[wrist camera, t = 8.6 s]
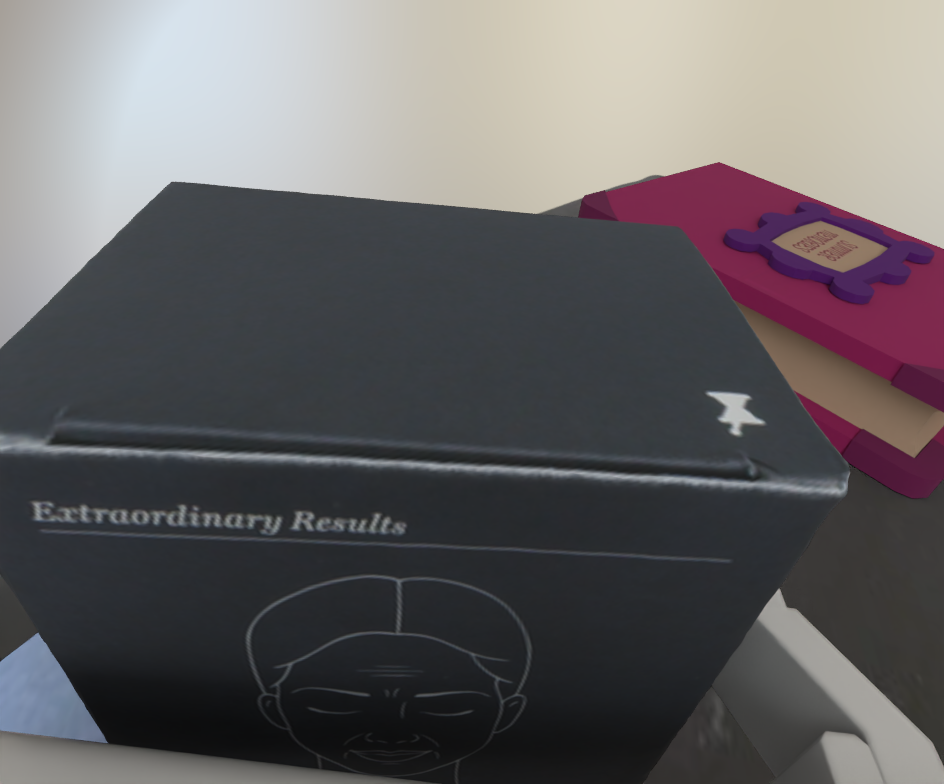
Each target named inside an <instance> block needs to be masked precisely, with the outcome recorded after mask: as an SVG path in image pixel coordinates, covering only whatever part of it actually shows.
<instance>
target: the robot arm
mask: <svg viewBox="0 0 944 784" xmlns="http://www.w3.org/2000/svg"><path fill="white" fill-rule="evenodd" d="M36 633H38V631H37V629H36V628H35V626H34V624H33V623H32V621H31V620H30V618H29V616H28V615H27V613H26V612H25V610H24V609H23V607H22V606H21V604H20V602H19V601H18V599H17V598H16V596H15V595H14V593H13V592H12V590H11V589H10V588H9V586H8V585H7V584H6V582H5V581H4V580H3V578H2V577H1V575H0V661H1V660H3V659H4V658H5V657H6V656H8V655H9V654H10V653H12V652H13V651H14V650H16V649H17V648H18V647H19V646H21V645H22V644H23V643H25V642H26V641H27V640H29V639H30V638H31V637H32V636H34V635H35V634H36ZM712 687H713V688H714V690H715V691H716V693H717V694H718V696H719V697H720V698H721V700H722V701H723V703H724V704H725V706H726V707H727V708H728V710H729V711H730V713H731V714H732V716H733V717H734V719H735V720H736V721H737V723H738V724H739V726H740V727H741V729H742V730H743V731H744V733H745V734H746V736H747V737H748V739H749V740H750V741H751V743H752V744H753V746H754V747H755V749H756V750H757V752H758V753H759V754H760V756H761V757H762V759H763V760H764V762H765V763H766V764H767V766H768V767H769V769H770V770H771V772H772V773H773V774H774V776H775V778H774V779H773V780H772V781H771V782H770V783H769V784H944V766H943V764H942V762H941V760H940V758H939V756H938V753H937V751H936V749H935V747H934V745H933V743H932V742H931V741H930V740H929V739H928V738H927V737H926V736H925V735H924V734H923V733H922V732H921V731H920V730H919V729H918V728H917V727H916V726H915V725H914V724H913V723H912V722H911V721H910V720H909V719H908V718H907V717H906V716H905V715H904V714H903V713H902V712H901V711H900V710H899V709H898V708H897V707H896V706H895V705H894V704H893V703H892V702H891V701H890V700H889V699H888V698H886V697H885V696H884V695H883V694H882V693H881V692H880V691H879V690H878V689H877V688H876V687H875V686H874V685H873V684H872V683H871V682H870V681H869V680H868V679H867V678H866V677H865V676H864V675H863V674H862V673H861V672H860V671H859V670H858V669H857V668H856V667H855V666H854V665H853V664H852V663H851V662H850V661H849V660H848V659H847V658H846V657H845V656H844V655H843V654H842V653H840V652H839V651H838V650H837V649H836V648H835V647H834V646H833V645H832V644H831V643H830V642H829V641H828V640H827V639H826V638H825V637H824V636H823V635H822V634H821V633H820V632H819V631H818V630H817V629H816V628H815V627H814V626H813V625H812V624H811V623H810V622H809V621H808V620H807V619H806V618H805V617H804V616H803V615H802V614H801V613H800V612H799V611H798V610H797V609H793V608H787V607H786V604H785V602H784V599H783V596H782V593H781V591H780V588H779V589H778V590H777V592H776V593H775V594H774V596H773V597H772V598H771V599H770V601H769V602H768V603H767V604H766V606H765V607H764V609H763V610H762V612H761V613H760V615H759V616H758V618H757V619H756V621H755V622H754V624H753V626H752V627H751V629H750V630H749V631H748V632H747V633H746V636H745V638H744V640H743V641H742V643H741V644H740V646H739V647H738V648H737V650H736V651H735V652H734V653H733V654H732V656H731V657H730V658H729V660H728V662H727V663H726V665H725V666H724V668H723V669H722V671H721V672H720V674H719V675H718V676H717V678H716V679H715V681H714V683H713V684H712ZM0 784H438V783H430V782H422V781H413V780H405V779H397V778H389V777H381V776H372V775H364V774H356V773H348V772H339V771H331V770H323V769H315V768H306V767H298V766H290V765H282V764H273V763H265V762H257V761H249V760H240V759H232V758H224V757H216V756H207V755H199V754H191V753H183V752H174V751H166V750H158V749H150V748H141V747H133V746H125V745H116V744H108V743H100V742H92V741H83V740H75V739H67V738H58V737H50V736H42V735H34V734H25V733H17V732H9V731H1V730H0Z"/></svg>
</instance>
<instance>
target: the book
mask: <svg viewBox="0 0 944 784" xmlns="http://www.w3.org/2000/svg"><path fill="white" fill-rule="evenodd" d="M578 218H586V219H598V220H610V221H622V222H633V223H645V224H656V225H667V226H678V227H679V228H681V229H682V230H683V231H684V232H685V234H686V235H687V236H688V238H689V239H690V240H691V241H692V242H693V244H694V245H695V246H696V247H697V249H698V250H699V251H700V253H701V254H702V256H703V257H704V258H705V260H706V261H707V262H708V264H709V265H710V266H711V267H712V269H713V270H714V272H715V273H716V275H717V276H718V278H719V279H720V281H721V282H722V284H723V285H724V286H725V288H726V289H727V291H728V292H729V294H730V296H731V297H732V299H733V300H734V302H735V303H736V304H737V306H738V307H739V309H740V310H741V311H742V313H743V314H744V316H745V318H746V319H747V321H748V323H749V324H750V326H751V327H752V329H753V330H754V332H755V333H756V335H757V336H758V338H759V339H760V341H761V342H762V344H763V346H764V347H765V349H766V350H767V352H768V353H769V355H770V356H771V358H772V359H773V361H774V362H775V364H776V366H777V367H778V369H779V370H780V371H781V373H782V374H783V376H784V377H785V378H786V380H787V381H788V383H789V384H790V386H791V388H792V389H793V391H794V392H795V393H796V395H797V396H798V397H799V399H800V401H801V403H802V404H803V406H804V408H805V409H806V410H807V411H808V413H809V414H810V416H811V417H812V418H813V420H814V421H815V423H816V424H817V425H818V427H819V428H820V429H821V430H822V432H823V433H824V434H825V435H826V437H827V438H828V439H829V441H830V442H831V444H832V445H833V446H834V447H835V448H836V449H837V450H838V452H839V453H840V454H841V455H842V457H843V458H844V459H845V460H846V461H847V462H848V463H850V464H851V465H853V466H855V467H856V468H858V469H859V470H861V471H863V472H864V473H866V474H868V475H869V476H871V477H872V478H874V479H876V480H877V481H879V482H881V483H882V484H884V485H885V486H887V487H889V488H890V489H892V490H894V491H896V492H898V493H901V494H903V495H905V496H908V497H910V498H913V499H914V498H928V496H929V495H930V494H931V493H932V492H933V491H934V489H935V488H936V487H937V486H938V485H939V484H940V482H941V481H942V480H943V479H944V249H942V248H940V247H937V246H934V245H932V244H930V243H927V242H924V241H922V240H919V239H917V238H914V237H911V236H909V235H906V234H904V233H901V232H898V231H896V230H893V229H891V228H888V227H886V226H883V225H880V224H877V223H875V222H873V221H870V220H867V219H865V218H862V217H860V216H857V215H854V214H852V213H849V212H847V211H844V210H841V209H839V208H836V207H834V206H831V205H829V204H826V203H823V202H821V201H818V200H815V199H813V198H810V197H808V196H805V195H803V194H800V193H798V192H795V191H792V190H790V189H787V188H784V187H782V186H779V185H777V184H774V183H771V182H769V181H766V180H764V179H761V178H758V177H756V176H754V175H751V174H748V173H746V172H743V171H741V170H738V169H735V168H733V167H730V166H728V165H725V164H722V163H720V162H718V163H714V164H710V165H707V166H703V167H699V168H695V169H692V170H688V171H684V172H680V173H676V174H673V175H669V176H665V177H661V178H657V179H654V180H650V181H646V182H642V183H639V184H635V185H631V186H627V187H623V188H620V189H616V190H612V191H608V192H605V190H604V191H600V192H596V193H593V194H589V195H585V196H584V197H583V199H582V202H581V207H580V211H579V216H578Z"/></svg>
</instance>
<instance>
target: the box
mask: <svg viewBox="0 0 944 784" xmlns="http://www.w3.org/2000/svg"><path fill="white" fill-rule="evenodd" d="M849 475H850V470H849V466H848V463H847V461H846V460H845V459H844V458H843V457H842V456H841V454H840V453H839V452H838V450H837V449H836V448H835V447H834V446H833V445H832V444H831V442H830V441H829V439H828V438H827V437H826V435H825V434H824V433H823V432H822V430H821V429H820V428H819V427H818V425H817V424H816V423H815V421H814V420H813V418H812V417H811V416H810V414H809V413H808V411H807V410H806V409H805V408H804V406H803V404H802V403H801V401H800V399H799V397H798V396H797V395H796V393H795V392H794V391H793V389H792V388H791V386H790V384H789V383H788V381H787V380H786V378H785V377H784V376H783V374H782V373H781V371H780V370H779V369H778V367H777V366H776V364H775V362H774V361H773V359H772V358H771V356H770V355H769V353H768V352H767V350H766V349H765V347H764V346H763V344H762V342H761V341H760V339H759V338H758V336H757V335H756V333H755V332H754V330H753V329H752V327H751V326H750V324H749V323H748V321H747V319H746V318H745V316H744V314H743V313H742V311H741V310H740V309H739V307H738V306H737V304H736V303H735V302H734V300H733V299H732V297H731V296H730V294H729V292H728V291H727V289H726V288H725V286H724V285H723V284H722V282H721V281H720V279H719V278H718V276H717V275H716V273H715V272H714V270H713V269H712V267H711V266H710V265H709V264H708V262H707V261H706V260H705V258H704V257H703V256H702V254H701V253H700V251H699V250H698V249H697V247H696V246H695V245H694V244H693V242H692V241H691V240H690V239H689V238H688V236H687V235H686V234H685V232H684V231H683V230H682V229H681V228H679V227H678V226H667V225H656V224H645V223H633V222H622V221H610V220H598V219H586V218H577V217H568V216H556V215H543V214H530V213H519V212H508V211H498V210H488V209H478V208H466V207H455V206H444V205H433V204H421V203H408V202H396V201H384V200H375V199H366V198H354V197H344V196H334V195H320V194H307V193H299V192H287V191H273V190H262V189H249V188H238V187H228V186H218V185H209V184H197V183H185V182H171V183H170V184H169V185H167V187H165V188H164V189H163V190H162V191H161V192H160V193H159V194H158V195H157V196H156V197H155V198H154V199H153V200H151V201H150V202H149V203H148V205H146V206H145V207H144V208H143V209H142V210H141V211H140V212H139V213H138V214H136V216H135V217H134V218H133V219H132V220H131V221H130V222H129V223H128V224H127V225H126V226H125V227H124V228H123V229H122V230H120V231H119V232H118V233H117V234H116V236H115V237H114V238H113V239H112V240H111V241H110V242H109V243H108V244H107V245H105V246H104V247H103V248H102V249H101V250H100V251H99V252H98V253H97V255H96V256H94V257H93V258H92V259H90V260H89V261H88V263H87V264H86V265H85V266H84V267H83V268H82V269H81V271H79V272H78V273H77V274H76V275H75V276H74V277H73V278H72V279H71V280H70V281H69V282H68V283H67V284H66V285H65V286H64V287H63V288H62V289H61V290H60V291H59V292H58V293H57V294H56V295H55V296H54V297H53V298H52V299H51V300H50V301H49V302H48V304H47V305H45V306H44V307H43V308H42V309H41V310H40V311H39V312H38V313H37V314H36V315H35V316H34V317H33V318H32V319H31V320H30V321H29V322H28V323H27V324H26V325H25V326H24V327H23V328H22V329H21V330H20V331H19V332H17V333H16V334H15V335H14V336H13V337H12V338H11V339H10V340H9V341H8V342H7V343H6V344H5V345H4V346H3V347H2V348H1V349H0V575H1V577H2V578H3V580H4V581H5V582H6V584H7V585H8V586H9V588H10V589H11V590H12V592H13V593H14V595H15V596H16V598H17V599H18V601H19V602H20V604H21V606H22V607H23V609H24V610H25V612H26V613H27V615H28V616H29V618H30V620H31V621H32V623H33V624H34V626H35V628H36V629H37V631H38V633H39V634H40V636H41V638H42V639H43V641H44V642H45V643H46V644H47V646H48V647H49V649H50V651H51V652H52V654H53V655H54V657H55V658H56V660H57V661H58V663H59V664H60V666H61V667H62V669H63V670H64V672H65V673H66V675H67V677H68V678H69V680H70V682H71V684H72V685H73V687H74V689H75V691H76V692H77V694H78V695H79V697H80V698H81V700H82V701H83V703H84V705H85V707H86V709H87V710H88V712H89V713H90V715H91V716H92V718H93V720H94V721H95V723H96V724H97V726H98V727H99V729H100V730H101V732H102V733H103V735H104V737H105V739H106V741H107V742H108V743H109V744H116V745H125V746H133V747H141V748H150V749H158V750H166V751H174V752H183V753H191V754H199V755H207V756H216V757H224V758H232V759H240V760H249V761H257V762H265V763H273V764H282V765H290V766H298V767H306V768H315V769H323V770H331V771H339V772H348V773H356V774H364V775H372V776H381V777H389V778H397V779H405V780H413V781H422V782H430V783H438V784H642V783H643V782H644V781H645V780H646V778H647V777H648V775H649V773H650V771H651V770H652V769H653V767H654V766H655V765H656V764H657V762H658V761H659V759H660V758H661V756H662V755H663V753H664V752H665V751H666V749H667V748H668V746H669V744H670V743H671V741H672V740H673V739H674V738H675V736H676V735H677V733H678V731H679V730H680V729H681V728H682V727H683V725H684V724H685V723H686V721H687V719H688V718H689V717H690V716H691V714H692V713H693V711H694V710H695V708H696V706H697V705H698V703H699V702H700V700H701V699H702V698H703V697H704V695H705V694H706V692H707V691H708V690H709V689H710V687H711V686H712V684H713V683H714V681H715V679H716V678H717V676H718V675H719V674H720V672H721V671H722V669H723V668H724V666H725V665H726V663H727V662H728V660H729V658H730V657H731V656H732V654H733V653H734V652H735V651H736V650H737V648H738V647H739V646H740V644H741V643H742V641H743V640H744V638H745V636H746V633H747V632H748V631H749V630H750V629H751V627H752V626H753V624H754V622H755V621H756V619H757V618H758V616H759V615H760V613H761V612H762V610H763V609H764V607H765V606H766V604H767V603H768V602H769V601H770V599H771V598H772V597H773V596H774V594H775V593H776V592H777V590H778V589H779V588H780V586H781V585H782V584H783V582H784V581H785V580H786V578H787V577H788V575H789V573H790V572H791V570H792V569H793V567H794V566H795V564H796V563H797V561H798V560H799V559H800V557H801V556H802V554H803V553H804V551H805V550H806V549H807V547H808V546H809V544H810V542H811V540H812V538H813V536H814V534H815V532H816V530H817V529H818V528H819V526H820V525H821V524H822V523H823V521H824V520H825V519H826V517H827V516H828V515H829V513H830V512H831V510H832V509H833V508H834V507H835V506H836V505H837V504H838V503H839V502H840V501H841V500H842V499H843V498H844V497H845V496H846V494H847V492H848V478H849Z"/></svg>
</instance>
